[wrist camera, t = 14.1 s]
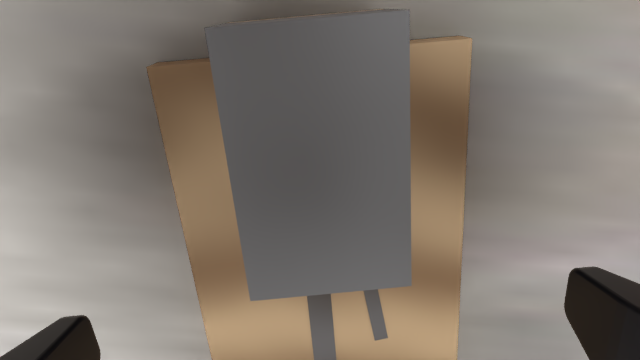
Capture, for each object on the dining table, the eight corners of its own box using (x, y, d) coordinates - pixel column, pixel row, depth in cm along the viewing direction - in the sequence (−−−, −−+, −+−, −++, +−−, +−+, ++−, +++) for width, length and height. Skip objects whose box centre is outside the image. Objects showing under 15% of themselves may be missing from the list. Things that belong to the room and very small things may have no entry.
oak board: (446, 400, 23) (454, 421, 22) (233, 420, 23) (230, 443, 22) (460, 35, 16) (472, 38, 15) (157, 62, 16) (145, 67, 15)
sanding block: (387, 226, 17) (411, 286, 14) (261, 238, 17) (250, 301, 14) (381, 8, 15) (409, 9, 11) (228, 22, 14) (204, 28, 11)
